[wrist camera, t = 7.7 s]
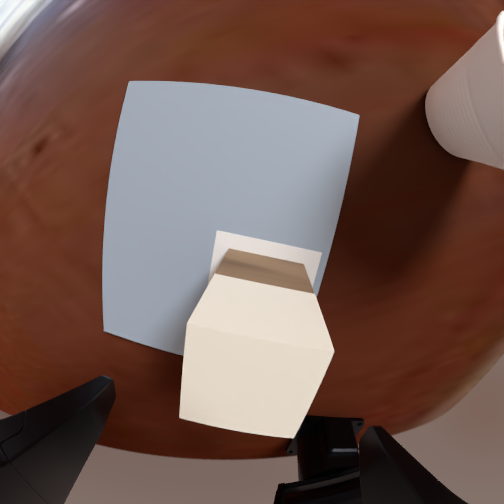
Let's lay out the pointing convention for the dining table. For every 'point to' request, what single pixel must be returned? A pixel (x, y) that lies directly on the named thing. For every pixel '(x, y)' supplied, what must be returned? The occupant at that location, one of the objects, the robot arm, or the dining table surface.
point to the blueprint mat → (214, 196)
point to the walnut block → (265, 270)
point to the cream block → (253, 357)
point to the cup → (472, 102)
